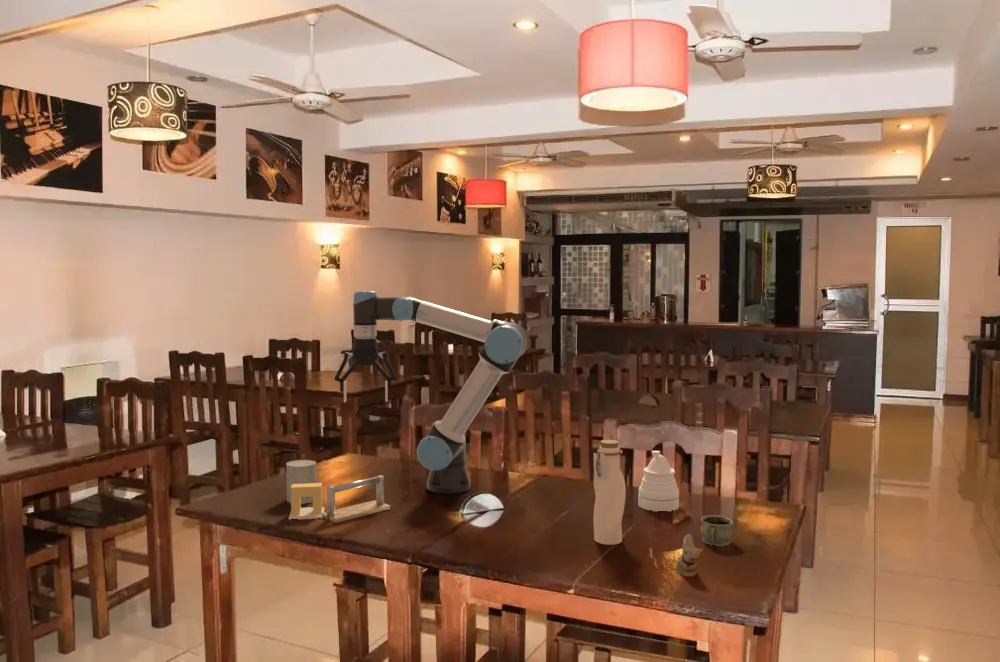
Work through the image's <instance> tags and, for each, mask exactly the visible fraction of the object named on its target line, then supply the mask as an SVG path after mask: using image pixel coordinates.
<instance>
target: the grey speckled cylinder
mask: <svg viewBox="0 0 1000 662" xmlns="http://www.w3.org/2000/svg"><path fill="white" fill-rule="evenodd" d="M308 483H317V461H315V460H313V459H296V460H290V461H287V462H286V502H287V503H288V502H289V503H288V504H291V486H292V484H308ZM306 503H307V504H310V503H313V496H310V497H301V505H305V504H306ZM307 504H306V505H307Z"/></svg>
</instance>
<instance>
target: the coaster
mask: <svg viewBox="0 0 1000 662" xmlns="http://www.w3.org/2000/svg"><path fill="white" fill-rule="evenodd" d="M324 512H325V506H322V513H324ZM289 513H290V514H289V516H288V520H289V521H292V520H291V519H298V520H316V519H317V520H318V518H321V519H324V518H323V516H322V515H321V514H313V506H311V507H309V506H308V507H301V512H300V515H291V512H289ZM313 518H314V519H313Z"/></svg>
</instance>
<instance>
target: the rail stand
mask: <svg viewBox="0 0 1000 662" xmlns="http://www.w3.org/2000/svg"><path fill="white" fill-rule="evenodd" d="M384 480H385V476H384V475H383V474H382V475H379V474H378V475H376V476H374V477H370V478H366V479H365V478H364V479H360V480H355V481H350V482H346V483H342V484H338V485H328V486H326V511H324V513H321V515H322V516H323V518H322V519H324V520H326V521H329V522H332V523H335V524H336V523H337V524H338V523H340V522H346V521H349V520H352V519H357V518H361V517H365V516H368V515H372V514H373V515H374V514H376V513H380V512H381V513H382V512H384V511H388V510H391V505H390V504H387V503H385V486H384V485H385V481H384ZM370 485H375V489H376V490H375V492H376V495H375V496H376V497H375V498H376V499H375V500H369V501H366V502H361V503H357V504H354V505H350V506H346V507H341V508H337V509H336V493H340V492H344V491H348V490H352V489H357V488H361V487H366V486H370Z"/></svg>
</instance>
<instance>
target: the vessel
mask: <svg viewBox="0 0 1000 662" xmlns="http://www.w3.org/2000/svg"><path fill="white" fill-rule="evenodd" d="M700 521H701V527H700V534H701V536H703V538H702V542H703V541H704V542H705V543H704V542H703V543H704V544H706V543H707V544H706V545H708V544H710V545H709V546H712V545H715V546H714V547H726V546H725V545H727V546H729V544H730V542H731V541H730V539H732V538H733V535H734V533H733V532H734V531H733V523H734V522H733V521H734V520H732V518H729V517H727V516H723V515H704V516H702V517H700ZM730 545H731V544H730Z"/></svg>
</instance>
